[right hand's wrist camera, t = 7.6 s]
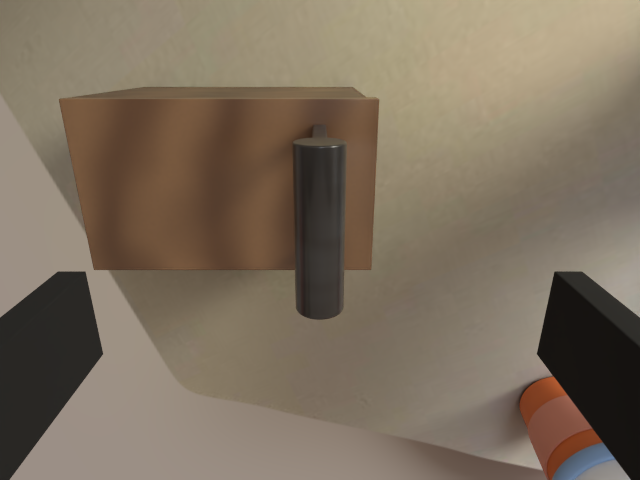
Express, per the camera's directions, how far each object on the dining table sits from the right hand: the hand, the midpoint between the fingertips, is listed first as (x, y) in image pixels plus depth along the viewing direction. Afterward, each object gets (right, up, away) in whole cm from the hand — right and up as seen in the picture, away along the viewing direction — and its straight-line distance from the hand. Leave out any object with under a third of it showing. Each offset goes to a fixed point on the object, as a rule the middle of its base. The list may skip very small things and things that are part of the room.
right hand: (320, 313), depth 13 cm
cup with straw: (+23, -14, +32) cm, 42 cm away
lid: (-5, +5, +13) cm, 15 cm away
